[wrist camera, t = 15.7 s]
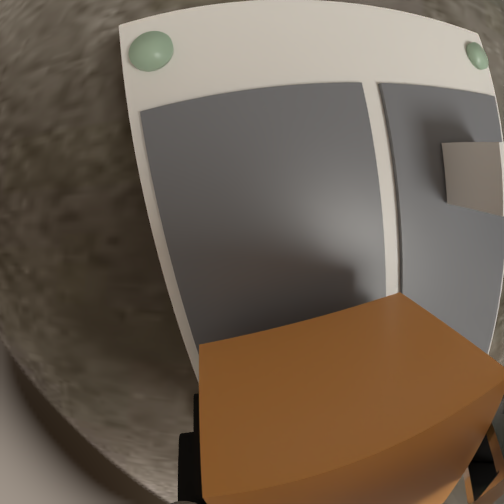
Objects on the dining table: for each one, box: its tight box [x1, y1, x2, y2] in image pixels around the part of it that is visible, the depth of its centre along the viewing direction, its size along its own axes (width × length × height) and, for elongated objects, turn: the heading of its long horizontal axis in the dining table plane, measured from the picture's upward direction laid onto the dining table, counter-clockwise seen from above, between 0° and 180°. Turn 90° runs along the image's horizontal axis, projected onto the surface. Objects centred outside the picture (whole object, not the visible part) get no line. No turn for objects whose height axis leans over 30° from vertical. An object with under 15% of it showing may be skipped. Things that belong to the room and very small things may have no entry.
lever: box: [442, 142, 504, 217], centre depth 8 cm, size 2×2×3 cm
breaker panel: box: [119, 0, 504, 383], centre depth 13 cm, size 28×16×3 cm, turn 10°
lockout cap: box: [199, 292, 504, 504], centre depth 7 cm, size 6×6×5 cm
